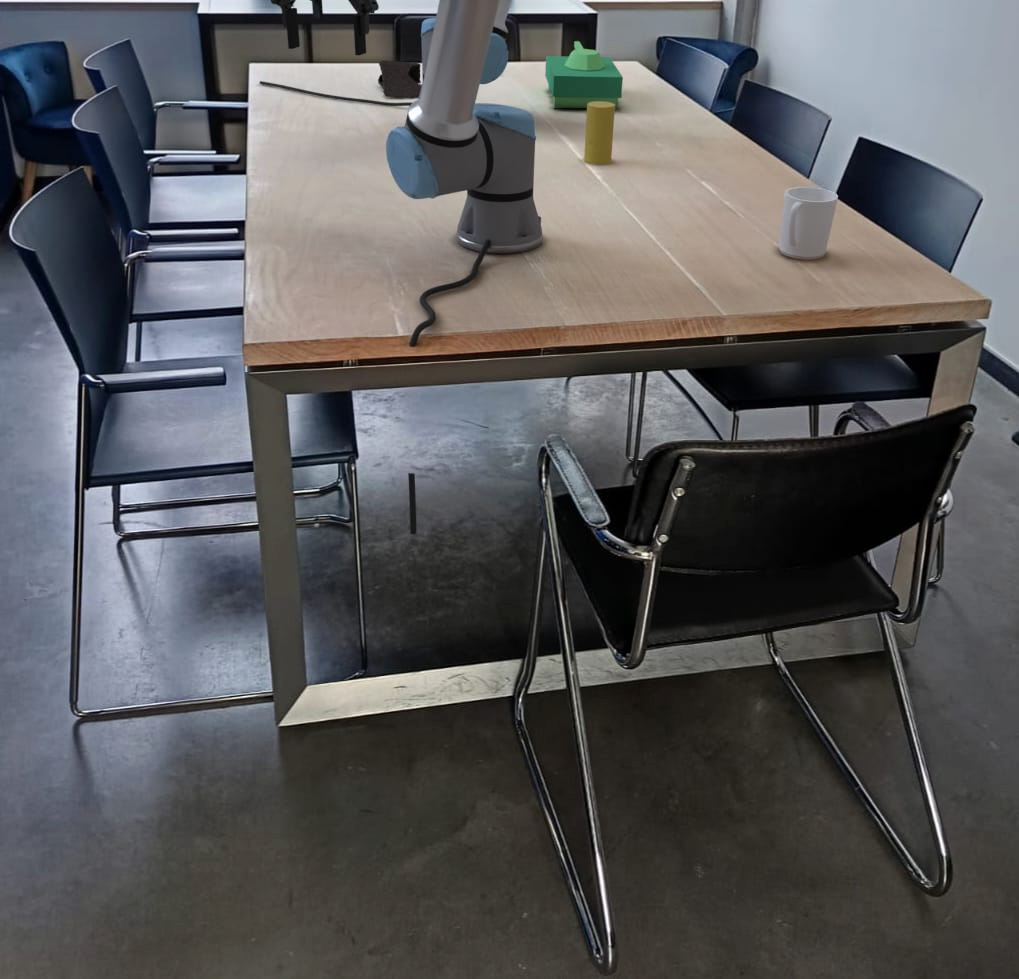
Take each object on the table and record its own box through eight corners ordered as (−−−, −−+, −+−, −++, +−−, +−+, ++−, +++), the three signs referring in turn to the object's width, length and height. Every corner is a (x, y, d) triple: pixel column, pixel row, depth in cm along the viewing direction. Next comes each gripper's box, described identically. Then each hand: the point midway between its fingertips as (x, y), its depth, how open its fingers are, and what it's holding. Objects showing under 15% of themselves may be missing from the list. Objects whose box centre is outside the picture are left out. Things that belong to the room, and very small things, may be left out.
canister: (615, 160, 244) (619, 103, 237) (602, 166, 239) (606, 108, 233) (592, 156, 246) (595, 100, 240) (579, 161, 242) (582, 104, 236)
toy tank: (607, 38, 308) (624, 61, 278) (604, 83, 314) (620, 111, 284) (544, 36, 307) (554, 60, 277) (542, 82, 313) (552, 110, 283)
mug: (790, 240, 199) (799, 183, 193) (836, 251, 194) (846, 193, 188) (761, 255, 191) (769, 197, 186) (808, 267, 186) (818, 208, 181)
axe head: (443, 87, 294) (392, 77, 287) (436, 115, 299) (385, 106, 292) (421, 62, 307) (371, 52, 300) (414, 89, 311) (365, 80, 304)
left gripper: (297, -93, 218) (305, 22, 229) (397, -96, 232) (400, 12, 243) (277, -95, 222) (285, 17, 233) (376, -98, 237) (380, 8, 248)
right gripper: (394, -80, 185) (398, 53, 196) (267, -87, 192) (278, 41, 203) (374, -77, 179) (379, 60, 190) (243, -85, 186) (255, 48, 197)
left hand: (344, 15), depth 238 cm, fingers open, 13 cm apart
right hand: (327, 51), depth 197 cm, fingers open, 13 cm apart
